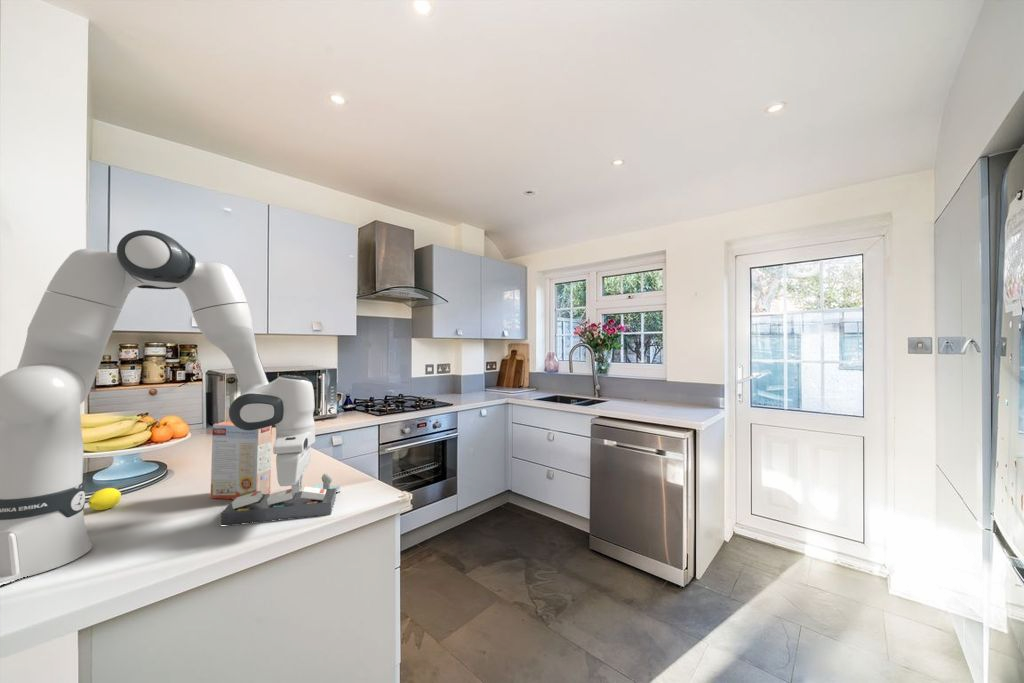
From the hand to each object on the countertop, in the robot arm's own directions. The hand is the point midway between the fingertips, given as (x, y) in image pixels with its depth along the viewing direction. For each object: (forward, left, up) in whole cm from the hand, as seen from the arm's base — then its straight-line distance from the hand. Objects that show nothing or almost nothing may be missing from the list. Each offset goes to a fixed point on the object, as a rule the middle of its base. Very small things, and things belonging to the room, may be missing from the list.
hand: (296, 490), depth 99 cm
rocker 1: (-11, 0, -1) cm, 11 cm away
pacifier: (+6, +13, -6) cm, 15 cm away
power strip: (-3, +2, -6) cm, 7 cm away
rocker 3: (+4, 0, -1) cm, 4 cm away
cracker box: (-17, +17, -6) cm, 25 cm away
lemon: (-47, +16, -6) cm, 50 cm away
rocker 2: (-3, 0, -1) cm, 4 cm away
